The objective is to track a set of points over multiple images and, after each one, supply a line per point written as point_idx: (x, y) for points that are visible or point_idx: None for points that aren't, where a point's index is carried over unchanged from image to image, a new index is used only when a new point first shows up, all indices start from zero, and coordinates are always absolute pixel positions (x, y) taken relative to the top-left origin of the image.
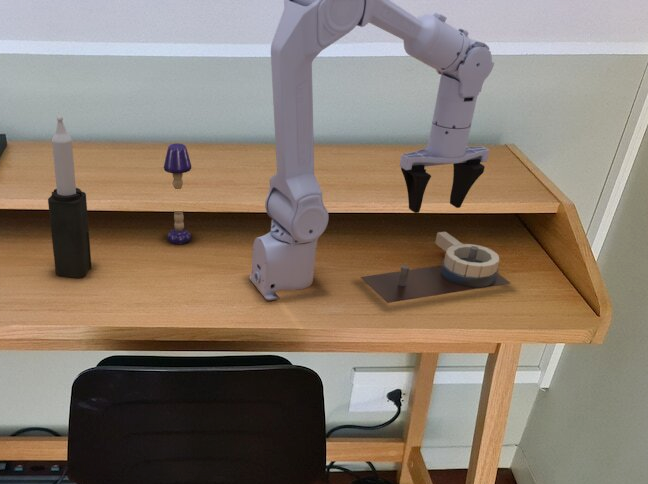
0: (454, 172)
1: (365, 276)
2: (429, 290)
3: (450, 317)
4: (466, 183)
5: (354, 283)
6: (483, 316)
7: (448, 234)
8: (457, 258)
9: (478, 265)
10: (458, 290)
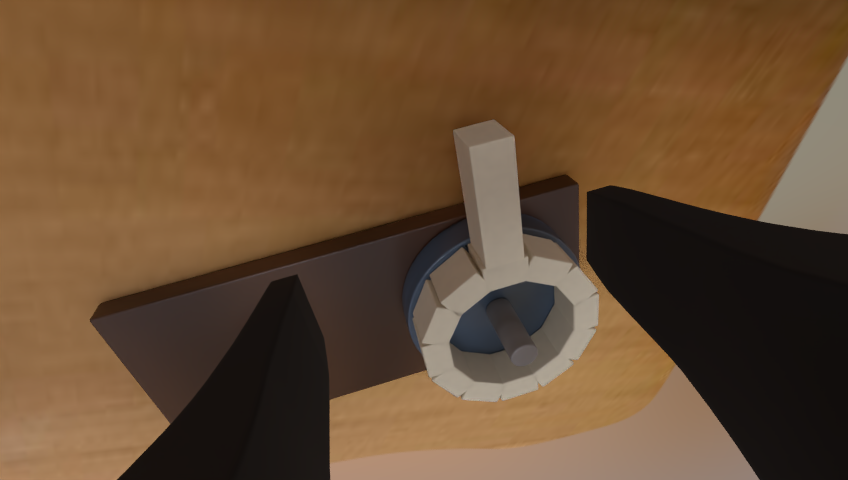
0: (786, 285)
1: (111, 316)
2: (331, 377)
3: (359, 431)
4: (715, 414)
5: (79, 301)
6: (439, 419)
7: (511, 170)
8: (447, 365)
9: (491, 399)
10: (416, 368)
